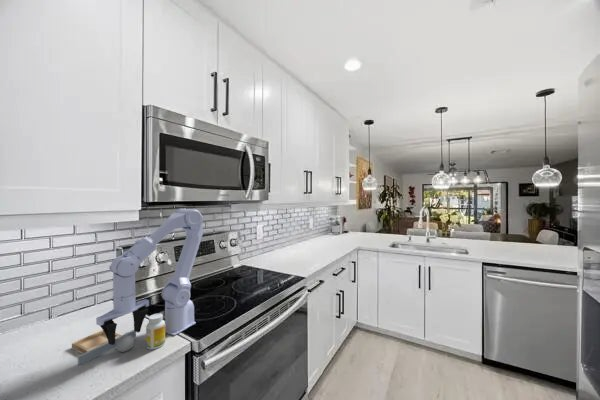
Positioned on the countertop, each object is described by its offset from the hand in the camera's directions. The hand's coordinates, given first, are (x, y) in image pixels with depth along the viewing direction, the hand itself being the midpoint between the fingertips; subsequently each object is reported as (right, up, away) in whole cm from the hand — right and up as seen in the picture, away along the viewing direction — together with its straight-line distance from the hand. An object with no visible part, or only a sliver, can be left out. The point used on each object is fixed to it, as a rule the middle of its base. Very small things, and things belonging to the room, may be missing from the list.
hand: (125, 337), depth 80 cm
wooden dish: (-12, -4, +4) cm, 13 cm away
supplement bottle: (+8, -4, +3) cm, 10 cm away
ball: (0, -4, 0) cm, 4 cm away
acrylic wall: (-5, -4, +1) cm, 7 cm away
